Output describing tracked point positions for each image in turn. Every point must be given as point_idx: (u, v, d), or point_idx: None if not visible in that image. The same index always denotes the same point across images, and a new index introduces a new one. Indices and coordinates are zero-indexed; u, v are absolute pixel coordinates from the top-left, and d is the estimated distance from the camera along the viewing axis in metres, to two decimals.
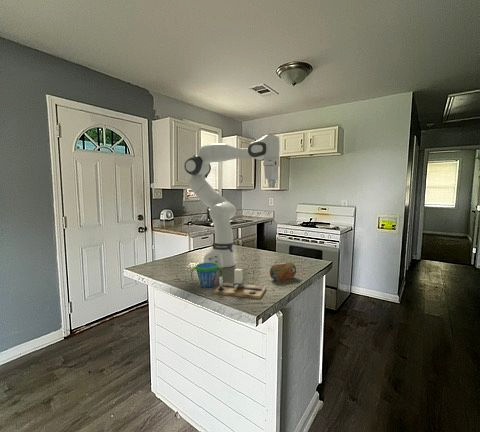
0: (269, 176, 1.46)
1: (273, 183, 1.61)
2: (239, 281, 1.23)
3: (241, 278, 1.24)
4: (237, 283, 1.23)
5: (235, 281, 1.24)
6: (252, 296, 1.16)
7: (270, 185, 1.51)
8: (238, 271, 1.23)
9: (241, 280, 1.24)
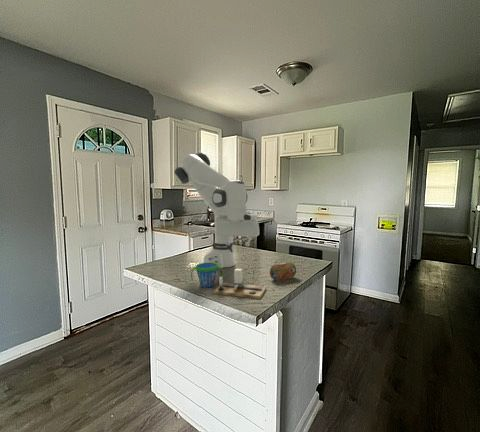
0: (258, 233, 1.20)
1: (226, 239, 1.24)
2: (239, 281, 1.23)
3: (241, 278, 1.24)
4: (237, 283, 1.23)
5: (235, 281, 1.24)
6: (252, 296, 1.16)
7: None
8: (238, 271, 1.23)
9: (241, 280, 1.24)
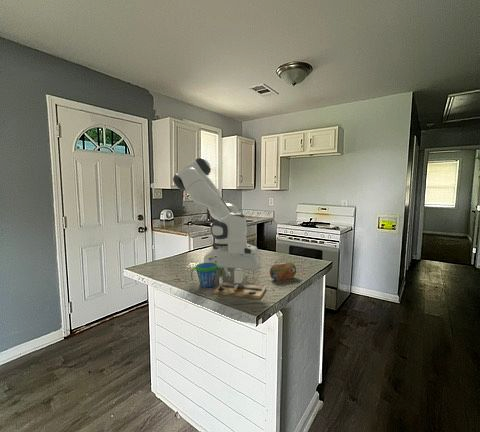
0: None
1: (227, 271, 1.26)
2: (239, 281, 1.23)
3: (241, 278, 1.24)
4: (237, 283, 1.23)
5: (235, 281, 1.24)
6: (252, 296, 1.16)
7: (249, 275, 1.23)
8: (238, 271, 1.23)
9: (241, 280, 1.24)
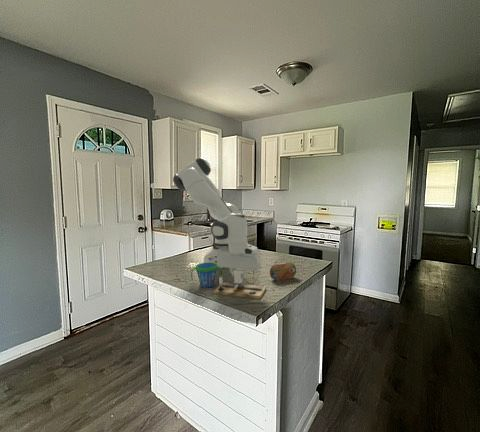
0: (259, 266, 1.22)
1: (232, 271, 1.25)
2: (239, 281, 1.23)
3: (241, 278, 1.24)
4: (237, 283, 1.23)
5: (235, 281, 1.24)
6: (252, 296, 1.16)
7: (244, 275, 1.24)
8: (238, 271, 1.23)
9: (241, 280, 1.24)
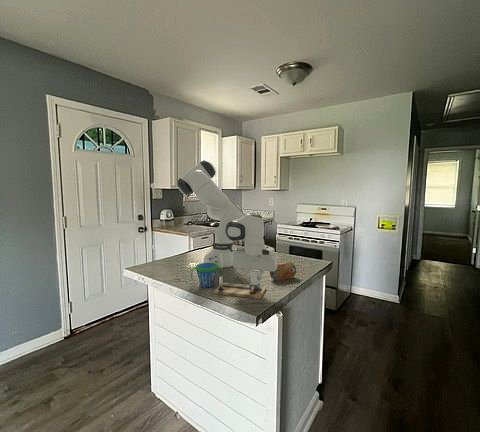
0: (276, 267, 1.19)
1: (248, 273, 1.22)
2: (255, 283, 1.20)
3: (257, 280, 1.21)
4: (253, 285, 1.20)
5: (251, 283, 1.21)
6: (252, 296, 1.16)
7: None
8: (254, 272, 1.20)
9: (257, 282, 1.22)
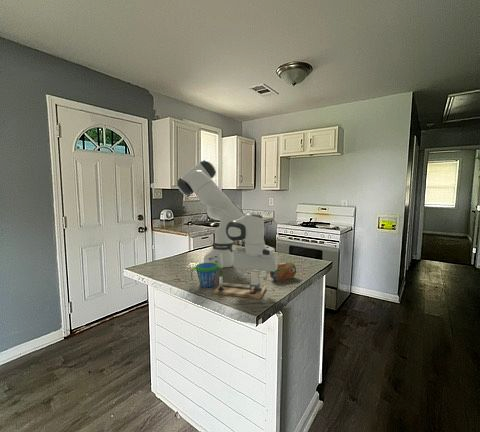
0: (277, 267, 1.19)
1: (244, 272, 1.23)
2: (256, 283, 1.20)
3: (258, 280, 1.21)
4: (254, 285, 1.20)
5: (251, 283, 1.21)
6: (252, 296, 1.16)
7: (266, 277, 1.20)
8: (255, 272, 1.20)
9: (258, 282, 1.21)
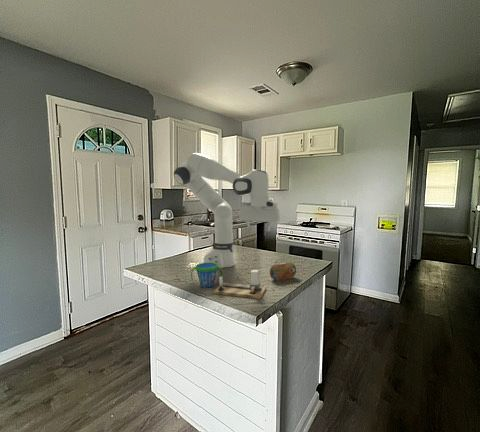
0: (279, 219, 1.31)
1: (248, 224, 1.35)
2: (256, 283, 1.20)
3: (258, 280, 1.21)
4: (254, 285, 1.20)
5: (251, 283, 1.21)
6: (252, 296, 1.16)
7: (269, 228, 1.32)
8: (255, 272, 1.20)
9: (258, 282, 1.21)
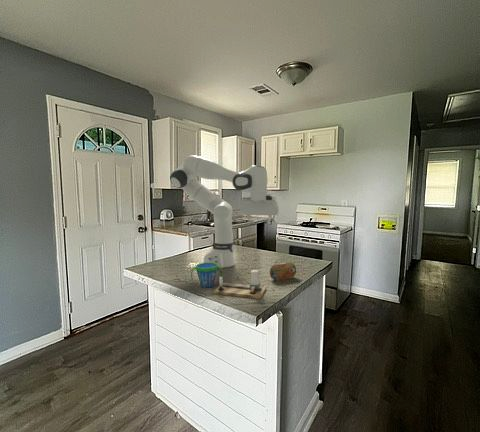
0: (278, 212, 1.37)
1: (249, 218, 1.41)
2: (256, 283, 1.20)
3: (258, 280, 1.21)
4: (254, 285, 1.20)
5: (251, 283, 1.21)
6: (252, 296, 1.16)
7: (269, 221, 1.38)
8: (255, 272, 1.20)
9: (258, 282, 1.21)
